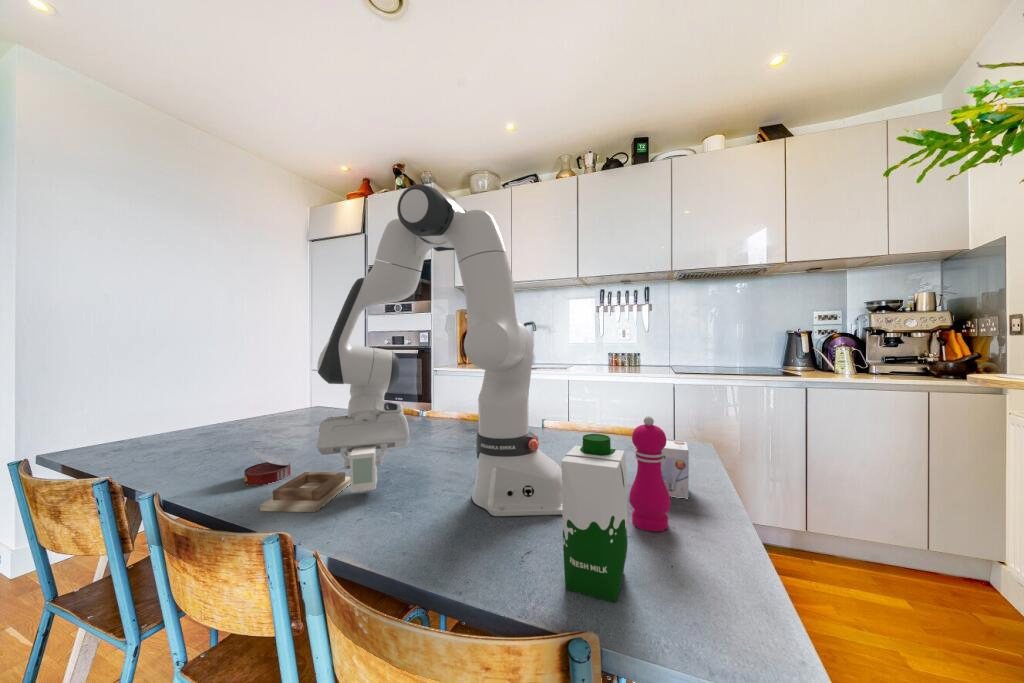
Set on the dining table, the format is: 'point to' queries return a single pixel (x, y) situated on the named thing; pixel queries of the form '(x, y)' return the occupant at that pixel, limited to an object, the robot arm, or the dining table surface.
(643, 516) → the pepper mill
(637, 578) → the dining table surface
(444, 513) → the dining table surface
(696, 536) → the dining table surface
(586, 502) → the milk carton
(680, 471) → the light bulb box
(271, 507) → the display base
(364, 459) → the picture block
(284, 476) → the canned food
